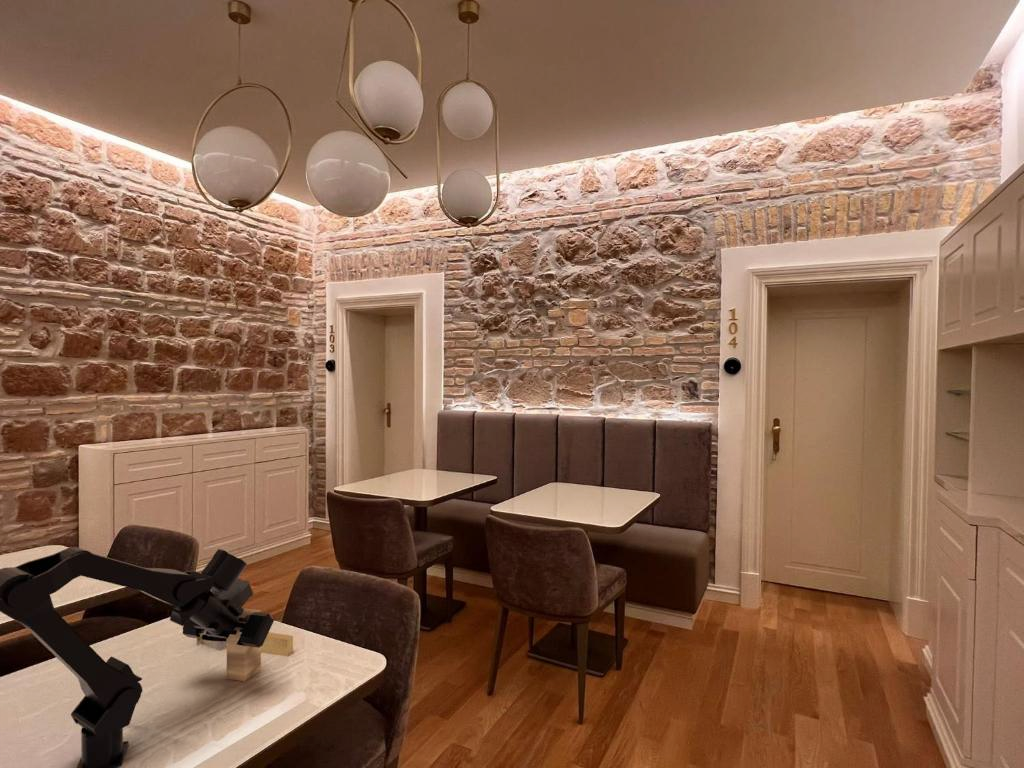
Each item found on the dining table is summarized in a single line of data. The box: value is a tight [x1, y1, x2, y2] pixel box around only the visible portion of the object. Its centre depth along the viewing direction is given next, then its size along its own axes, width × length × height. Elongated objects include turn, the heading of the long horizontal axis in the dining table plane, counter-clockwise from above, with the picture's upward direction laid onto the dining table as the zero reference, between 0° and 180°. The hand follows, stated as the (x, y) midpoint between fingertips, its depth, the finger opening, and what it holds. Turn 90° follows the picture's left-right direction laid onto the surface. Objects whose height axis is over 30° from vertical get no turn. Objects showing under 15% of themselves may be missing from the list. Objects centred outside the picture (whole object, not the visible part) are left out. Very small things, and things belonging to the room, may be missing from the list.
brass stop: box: [261, 631, 294, 657], centre depth 132 cm, size 2×8×4 cm, turn 75°
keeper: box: [226, 607, 262, 682], centre depth 122 cm, size 5×5×13 cm
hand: (248, 640), depth 123 cm, fingers closed on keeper, 5 cm apart
